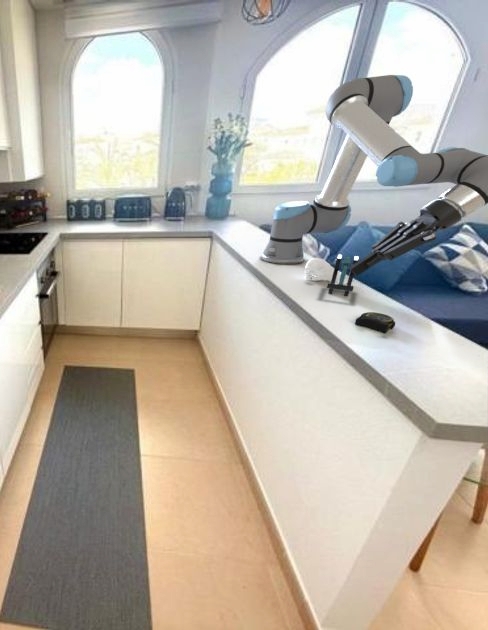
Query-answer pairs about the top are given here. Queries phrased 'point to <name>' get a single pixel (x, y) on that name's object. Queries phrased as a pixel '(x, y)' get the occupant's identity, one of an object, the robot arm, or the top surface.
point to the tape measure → (375, 321)
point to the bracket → (337, 272)
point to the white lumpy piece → (320, 270)
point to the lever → (342, 276)
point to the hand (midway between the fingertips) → (352, 271)
